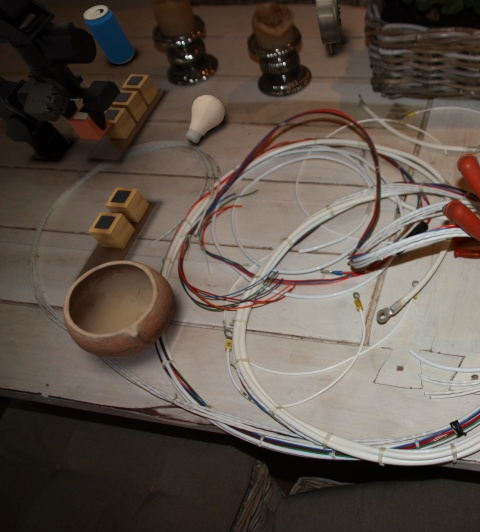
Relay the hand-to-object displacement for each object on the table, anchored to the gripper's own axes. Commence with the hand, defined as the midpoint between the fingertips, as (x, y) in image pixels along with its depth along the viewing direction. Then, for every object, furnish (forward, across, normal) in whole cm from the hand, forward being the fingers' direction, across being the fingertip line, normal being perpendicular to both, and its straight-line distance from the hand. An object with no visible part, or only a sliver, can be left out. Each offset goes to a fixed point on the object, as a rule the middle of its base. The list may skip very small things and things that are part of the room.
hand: (94, 128), depth 109 cm
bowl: (+6, +26, -38) cm, 46 cm away
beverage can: (+7, -14, +31) cm, 35 cm away
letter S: (+1, 0, 0) cm, 1 cm away
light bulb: (+6, +19, +8) cm, 22 cm away
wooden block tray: (+6, +14, -22) cm, 27 cm away
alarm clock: (+6, +39, +39) cm, 56 cm away
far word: (+6, 0, +8) cm, 10 cm away
